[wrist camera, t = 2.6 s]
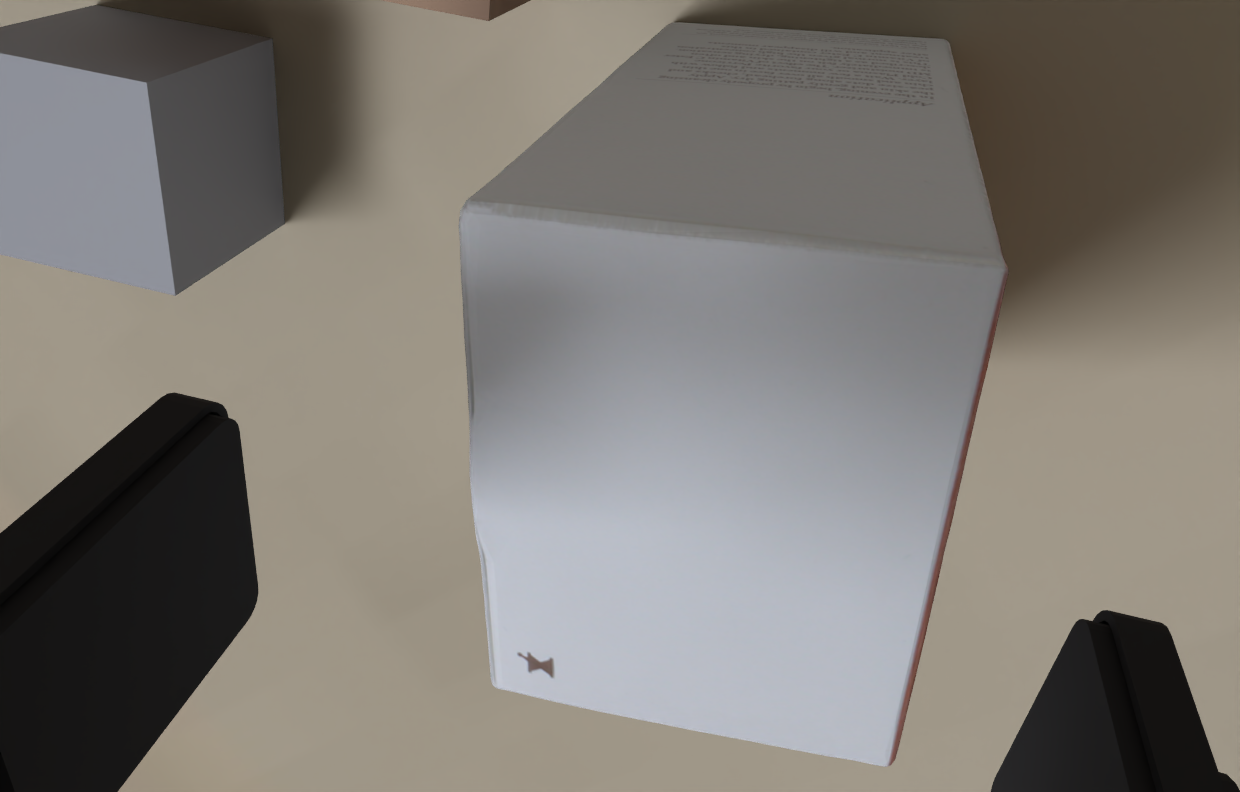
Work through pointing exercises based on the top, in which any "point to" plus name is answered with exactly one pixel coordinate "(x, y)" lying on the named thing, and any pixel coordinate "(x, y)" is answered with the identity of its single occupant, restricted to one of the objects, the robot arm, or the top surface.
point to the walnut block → (466, 7)
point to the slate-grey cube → (136, 145)
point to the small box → (730, 383)
